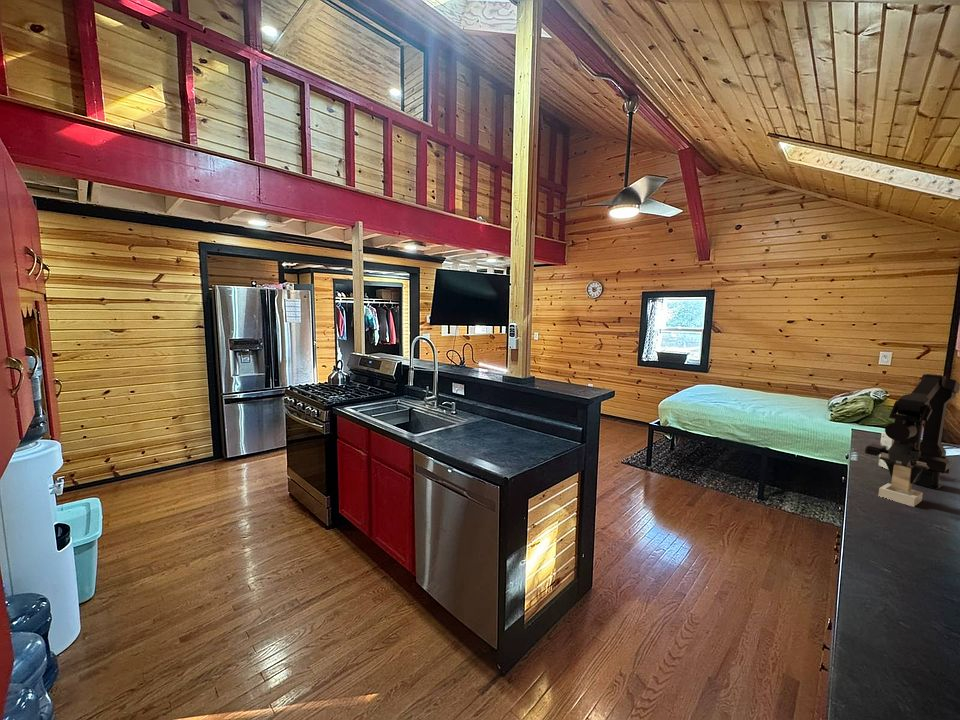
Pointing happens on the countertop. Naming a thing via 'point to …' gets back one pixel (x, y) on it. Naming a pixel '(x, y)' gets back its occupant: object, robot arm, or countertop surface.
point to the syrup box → (888, 443)
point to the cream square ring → (900, 495)
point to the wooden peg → (902, 476)
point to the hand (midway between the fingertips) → (902, 481)
